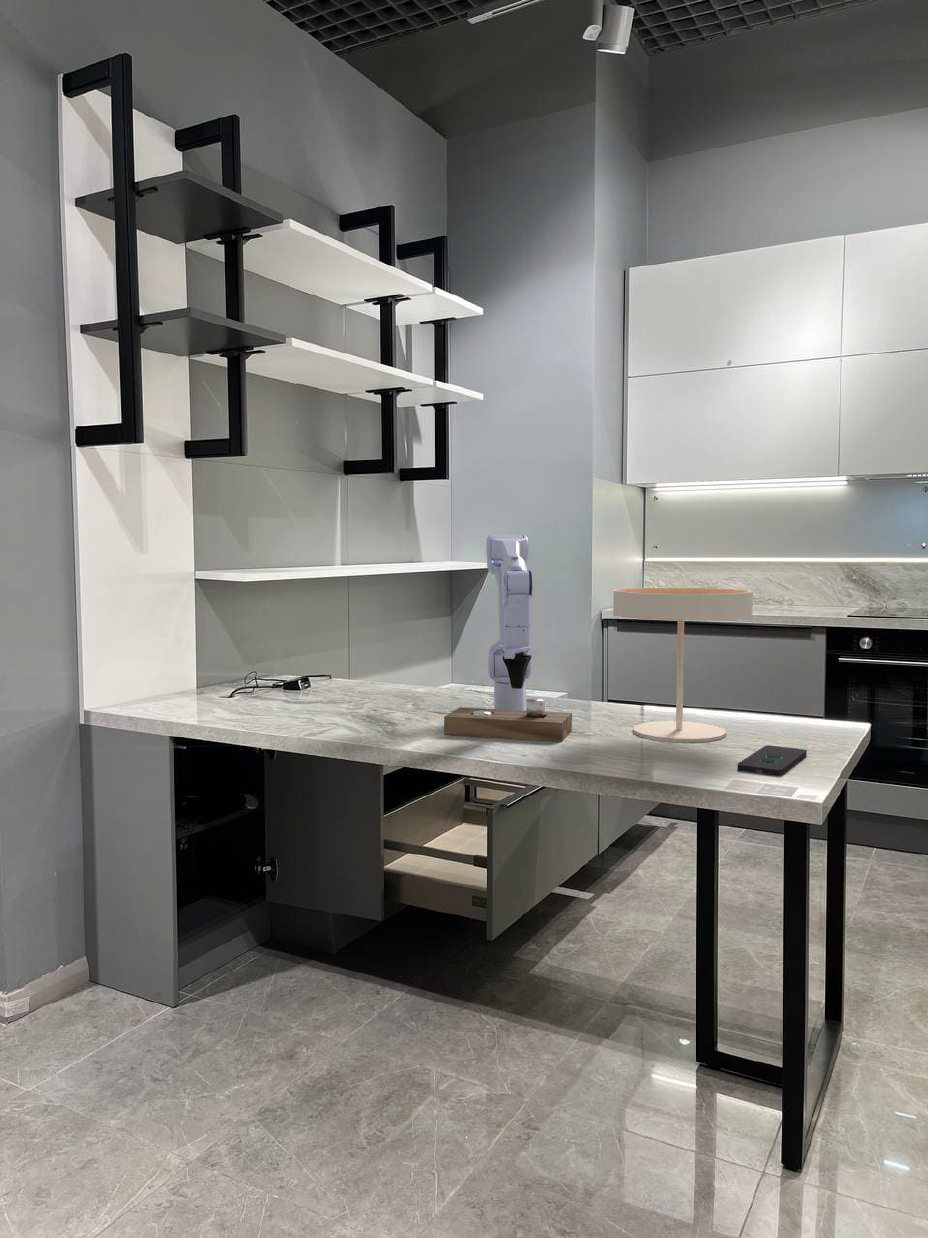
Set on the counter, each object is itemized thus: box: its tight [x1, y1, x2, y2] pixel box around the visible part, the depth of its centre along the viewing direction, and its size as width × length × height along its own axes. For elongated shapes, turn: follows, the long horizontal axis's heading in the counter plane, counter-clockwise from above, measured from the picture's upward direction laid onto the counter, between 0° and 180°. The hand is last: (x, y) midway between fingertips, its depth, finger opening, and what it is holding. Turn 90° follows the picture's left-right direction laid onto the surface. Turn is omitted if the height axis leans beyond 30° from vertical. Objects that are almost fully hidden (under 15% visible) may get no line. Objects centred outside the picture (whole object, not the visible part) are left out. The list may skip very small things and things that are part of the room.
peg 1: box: [473, 711, 491, 716], centre depth 208 cm, size 4×4×4 cm
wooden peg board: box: [443, 706, 573, 742], centre depth 207 cm, size 12×26×4 cm, turn 74°
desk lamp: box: [612, 587, 754, 743], centre depth 205 cm, size 30×30×31 cm
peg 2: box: [526, 697, 546, 718], centre depth 205 cm, size 4×4×4 cm
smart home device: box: [737, 744, 808, 777], centre depth 178 cm, size 8×2×20 cm
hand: (517, 688), depth 205 cm, fingers closed
